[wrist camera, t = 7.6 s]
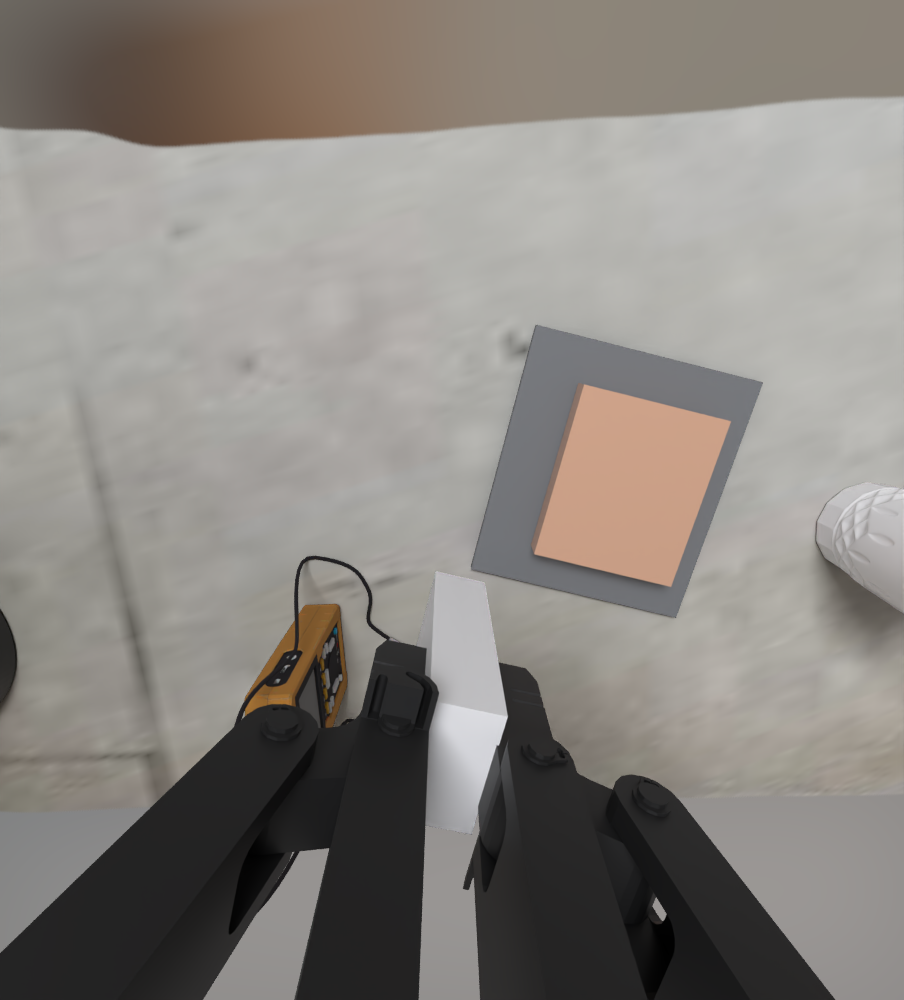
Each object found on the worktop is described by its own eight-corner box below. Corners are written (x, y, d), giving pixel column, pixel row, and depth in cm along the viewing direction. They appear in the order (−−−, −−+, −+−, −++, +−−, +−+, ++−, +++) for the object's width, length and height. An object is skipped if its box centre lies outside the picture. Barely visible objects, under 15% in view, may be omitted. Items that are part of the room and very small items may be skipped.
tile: (534, 554, 40) (671, 586, 41) (584, 384, 38) (731, 421, 38) (530, 543, 43) (660, 574, 43) (577, 382, 40) (716, 417, 40)
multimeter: (440, 720, 47) (423, 976, 28) (319, 724, 48) (219, 979, 28) (429, 550, 44) (401, 707, 24) (299, 555, 44) (168, 714, 25)
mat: (471, 566, 44) (471, 569, 43) (535, 325, 40) (536, 324, 39) (673, 614, 44) (675, 617, 44) (758, 382, 40) (762, 382, 40)
